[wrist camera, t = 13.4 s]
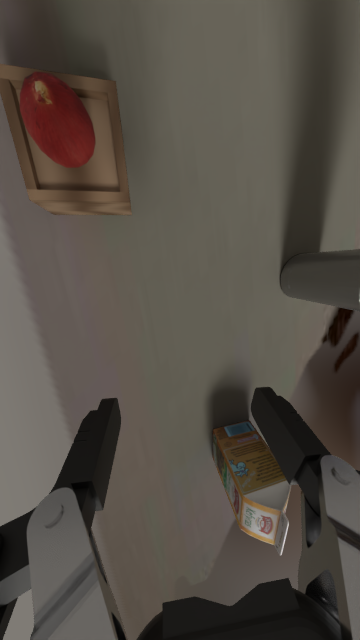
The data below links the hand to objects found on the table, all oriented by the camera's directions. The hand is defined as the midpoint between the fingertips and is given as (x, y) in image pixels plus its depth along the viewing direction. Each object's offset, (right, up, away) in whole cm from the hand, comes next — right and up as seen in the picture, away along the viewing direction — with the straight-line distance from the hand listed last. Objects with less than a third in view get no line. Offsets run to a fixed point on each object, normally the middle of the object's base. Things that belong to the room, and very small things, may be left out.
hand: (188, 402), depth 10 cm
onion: (-13, +24, +10) cm, 29 cm away
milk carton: (+14, -28, +38) cm, 49 cm away
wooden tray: (-14, +26, +14) cm, 33 cm away
